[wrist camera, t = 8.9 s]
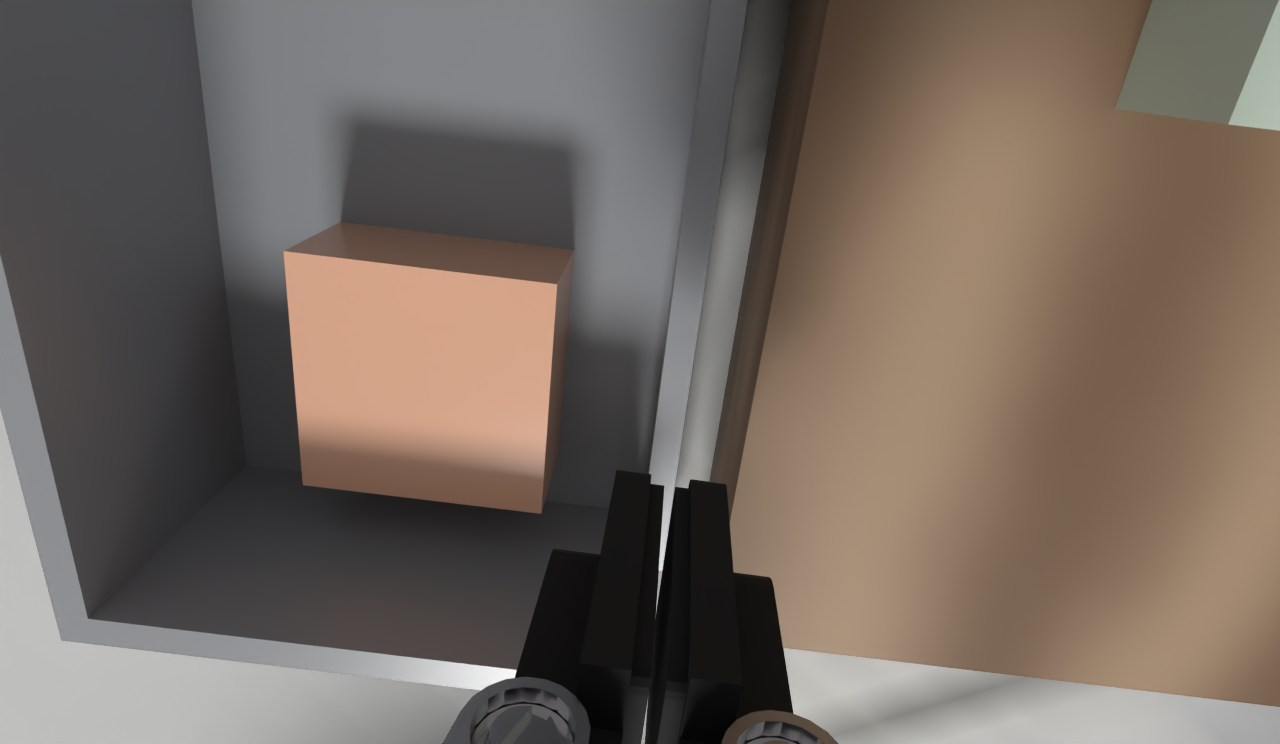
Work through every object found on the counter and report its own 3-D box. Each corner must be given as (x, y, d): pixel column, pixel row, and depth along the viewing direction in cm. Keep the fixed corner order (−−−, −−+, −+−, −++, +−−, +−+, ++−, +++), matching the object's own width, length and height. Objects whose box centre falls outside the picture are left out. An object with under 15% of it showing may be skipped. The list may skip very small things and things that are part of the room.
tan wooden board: (1604, -313, 12) (2011, -473, 8) (1165, 581, 19) (1279, 706, 16) (861, -403, 12) (943, -600, 8) (701, 526, 19) (707, 638, 16)
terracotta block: (283, 251, 14) (340, 222, 16) (302, 484, 16) (350, 428, 18) (556, 284, 14) (574, 249, 16) (541, 513, 16) (559, 453, 18)
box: (799, -410, 12) (903, -796, 6) (663, 521, 19) (657, 711, 14) (118, -493, 12) (-357, -949, 6) (237, 470, 19) (61, 640, 14)
